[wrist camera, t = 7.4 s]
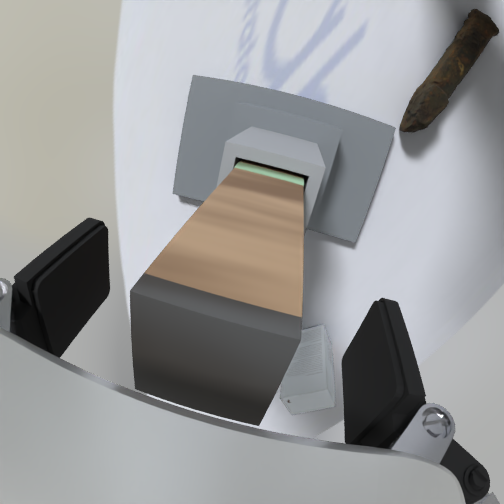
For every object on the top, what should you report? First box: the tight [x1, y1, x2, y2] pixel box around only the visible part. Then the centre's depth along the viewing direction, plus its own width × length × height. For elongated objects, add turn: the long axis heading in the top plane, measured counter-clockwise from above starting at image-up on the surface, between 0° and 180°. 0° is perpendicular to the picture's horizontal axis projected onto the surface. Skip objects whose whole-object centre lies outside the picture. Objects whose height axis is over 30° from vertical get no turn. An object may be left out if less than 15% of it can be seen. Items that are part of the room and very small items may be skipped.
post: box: [130, 159, 304, 426], centre depth 15 cm, size 4×4×17 cm
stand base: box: [173, 75, 396, 243], centre depth 27 cm, size 14×22×16 cm, turn 77°
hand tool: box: [400, 9, 499, 132], centre depth 24 cm, size 19×4×5 cm, turn 144°
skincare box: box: [280, 324, 336, 415], centre depth 40 cm, size 6×4×12 cm
